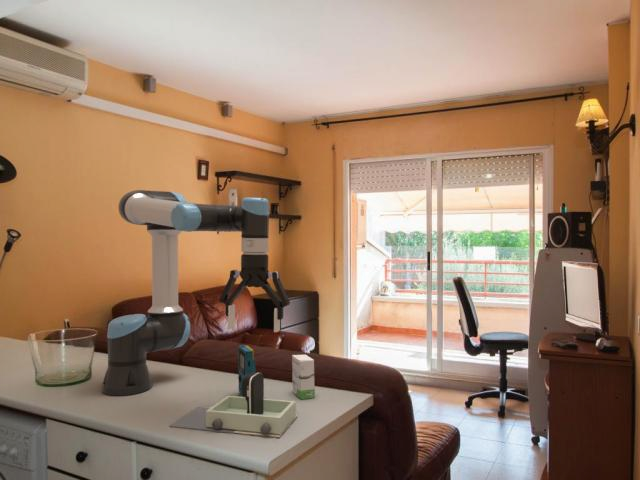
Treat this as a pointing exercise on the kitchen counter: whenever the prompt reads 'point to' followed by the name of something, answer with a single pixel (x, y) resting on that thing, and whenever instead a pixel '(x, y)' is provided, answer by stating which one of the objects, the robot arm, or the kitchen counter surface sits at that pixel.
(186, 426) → the track
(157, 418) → the kitchen counter surface
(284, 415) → the shallow sage green tray
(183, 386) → the kitchen counter surface
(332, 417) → the kitchen counter surface
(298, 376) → the ink box
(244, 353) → the handheld gaming console
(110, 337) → the robot arm
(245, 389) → the battery charger
